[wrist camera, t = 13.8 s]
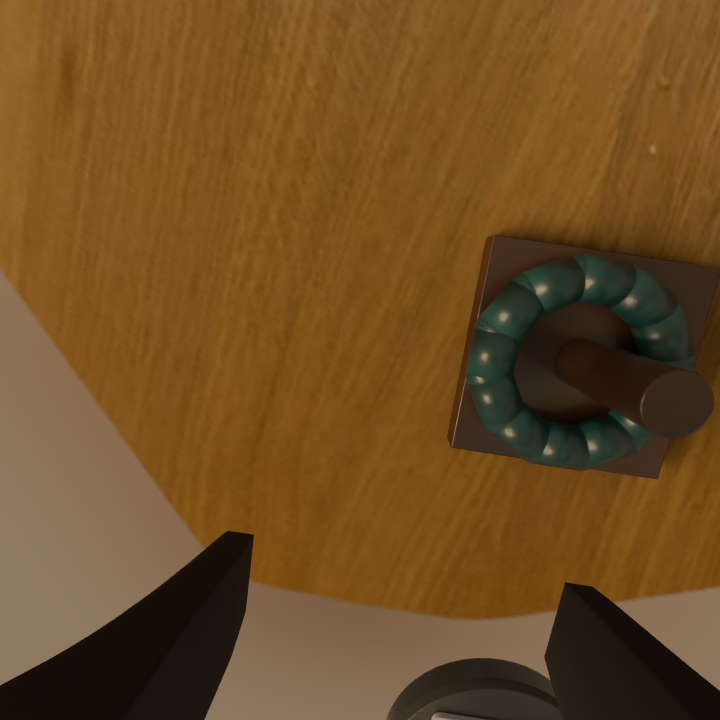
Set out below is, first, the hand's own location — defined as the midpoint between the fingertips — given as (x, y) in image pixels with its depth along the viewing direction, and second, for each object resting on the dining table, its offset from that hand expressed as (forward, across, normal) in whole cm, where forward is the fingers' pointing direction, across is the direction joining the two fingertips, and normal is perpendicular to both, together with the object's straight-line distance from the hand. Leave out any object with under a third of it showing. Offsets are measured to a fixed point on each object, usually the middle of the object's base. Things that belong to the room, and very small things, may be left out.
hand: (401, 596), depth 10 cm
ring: (+8, -7, -5) cm, 12 cm away
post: (+10, -7, -5) cm, 13 cm away
